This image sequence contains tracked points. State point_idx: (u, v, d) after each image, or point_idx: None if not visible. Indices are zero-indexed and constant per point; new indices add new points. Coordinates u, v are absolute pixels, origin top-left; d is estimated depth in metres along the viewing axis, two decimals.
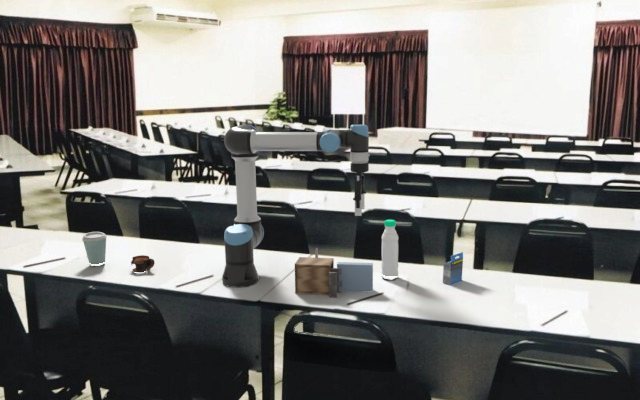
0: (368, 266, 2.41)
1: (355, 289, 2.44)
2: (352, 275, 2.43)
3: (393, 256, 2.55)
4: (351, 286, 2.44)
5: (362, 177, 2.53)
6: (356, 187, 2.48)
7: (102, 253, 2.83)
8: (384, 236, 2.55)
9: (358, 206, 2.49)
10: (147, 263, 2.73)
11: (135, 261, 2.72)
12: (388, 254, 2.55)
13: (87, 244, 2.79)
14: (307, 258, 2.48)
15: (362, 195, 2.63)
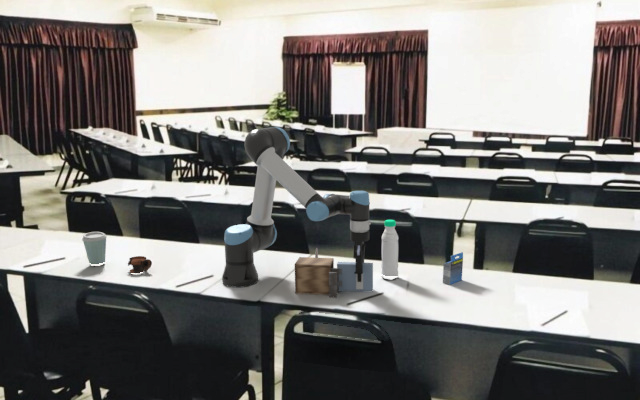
0: (368, 266, 2.41)
1: (355, 289, 2.44)
2: (352, 275, 2.43)
3: (393, 256, 2.55)
4: (351, 286, 2.44)
5: (362, 247, 2.40)
6: (357, 261, 2.38)
7: (102, 253, 2.83)
8: (384, 236, 2.55)
9: (359, 280, 2.41)
10: (144, 264, 2.72)
11: (132, 262, 2.71)
12: (388, 254, 2.55)
13: (87, 244, 2.79)
14: (307, 258, 2.48)
15: None
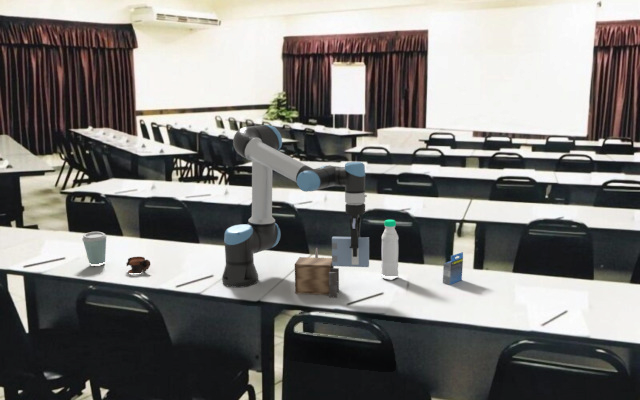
0: (364, 240, 2.32)
1: (351, 264, 2.35)
2: (348, 250, 2.34)
3: (393, 256, 2.55)
4: (347, 261, 2.35)
5: (358, 221, 2.31)
6: (352, 235, 2.29)
7: (102, 253, 2.83)
8: (384, 236, 2.55)
9: (355, 254, 2.32)
10: (143, 264, 2.72)
11: (131, 262, 2.70)
12: (388, 254, 2.55)
13: (87, 244, 2.79)
14: (307, 258, 2.48)
15: None
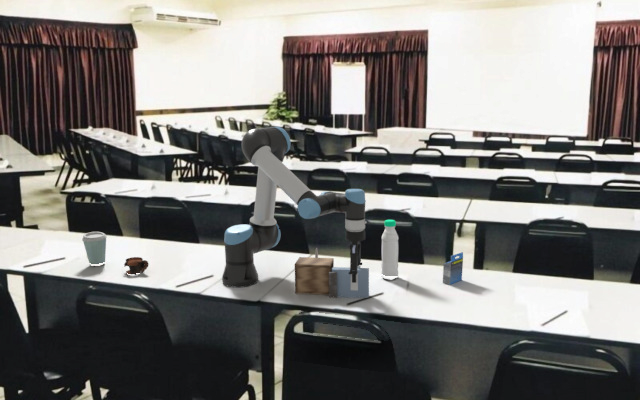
0: (364, 271, 2.35)
1: (351, 295, 2.37)
2: (348, 281, 2.36)
3: (393, 256, 2.55)
4: (347, 292, 2.37)
5: (358, 246, 2.33)
6: (352, 260, 2.29)
7: (102, 253, 2.83)
8: (384, 236, 2.55)
9: (354, 280, 2.31)
10: (141, 265, 2.71)
11: (129, 263, 2.69)
12: (388, 254, 2.55)
13: (87, 244, 2.79)
14: (307, 258, 2.48)
15: (358, 267, 2.41)
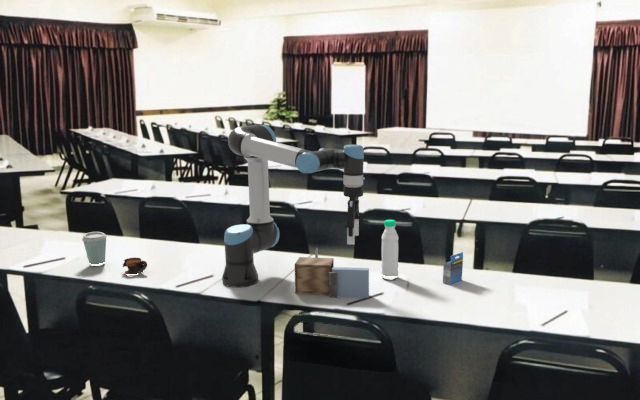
0: (364, 271, 2.35)
1: (351, 295, 2.37)
2: (348, 280, 2.36)
3: (393, 256, 2.55)
4: (347, 292, 2.37)
5: (356, 202, 2.32)
6: (349, 213, 2.27)
7: (102, 253, 2.83)
8: (384, 236, 2.55)
9: (351, 234, 2.28)
10: (139, 265, 2.70)
11: (127, 263, 2.69)
12: (388, 254, 2.55)
13: (87, 244, 2.79)
14: (307, 258, 2.48)
15: (356, 220, 2.42)
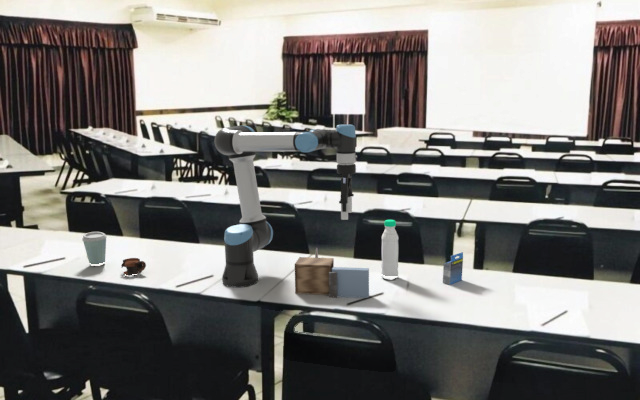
0: (364, 271, 2.35)
1: (351, 295, 2.37)
2: (348, 280, 2.36)
3: (393, 256, 2.55)
4: (347, 292, 2.37)
5: (349, 179, 2.43)
6: (342, 189, 2.38)
7: (102, 253, 2.83)
8: (384, 236, 2.55)
9: (344, 209, 2.39)
10: (138, 266, 2.69)
11: (126, 264, 2.68)
12: (388, 254, 2.55)
13: (87, 244, 2.79)
14: (307, 258, 2.48)
15: (349, 198, 2.53)
